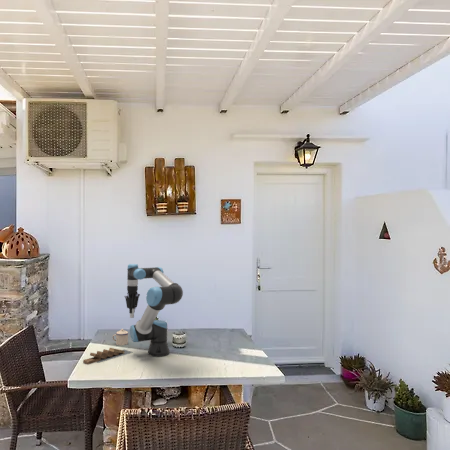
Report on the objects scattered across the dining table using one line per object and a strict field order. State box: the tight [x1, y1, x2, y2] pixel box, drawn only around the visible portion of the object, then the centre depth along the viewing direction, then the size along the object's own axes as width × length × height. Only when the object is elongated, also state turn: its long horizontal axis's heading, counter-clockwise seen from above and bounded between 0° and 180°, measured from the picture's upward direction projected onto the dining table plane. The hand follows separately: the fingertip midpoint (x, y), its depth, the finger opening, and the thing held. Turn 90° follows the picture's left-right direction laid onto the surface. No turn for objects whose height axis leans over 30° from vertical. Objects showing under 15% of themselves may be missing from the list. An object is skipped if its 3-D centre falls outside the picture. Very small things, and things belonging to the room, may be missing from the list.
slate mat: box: [96, 349, 134, 364], centre depth 291 cm, size 10×30×1 cm, turn 144°
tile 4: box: [89, 352, 107, 359], centre depth 282 cm, size 2×5×10 cm
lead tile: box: [108, 347, 125, 353], centre depth 295 cm, size 2×5×10 cm
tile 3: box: [96, 350, 113, 357], centre depth 286 cm, size 2×5×10 cm
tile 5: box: [82, 356, 101, 365], centre depth 278 cm, size 2×5×10 cm
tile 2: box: [102, 348, 119, 355], centre depth 291 cm, size 2×5×10 cm
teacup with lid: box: [112, 328, 129, 346], centre depth 321 cm, size 12×9×12 cm
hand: (131, 317), depth 308 cm, fingers closed
